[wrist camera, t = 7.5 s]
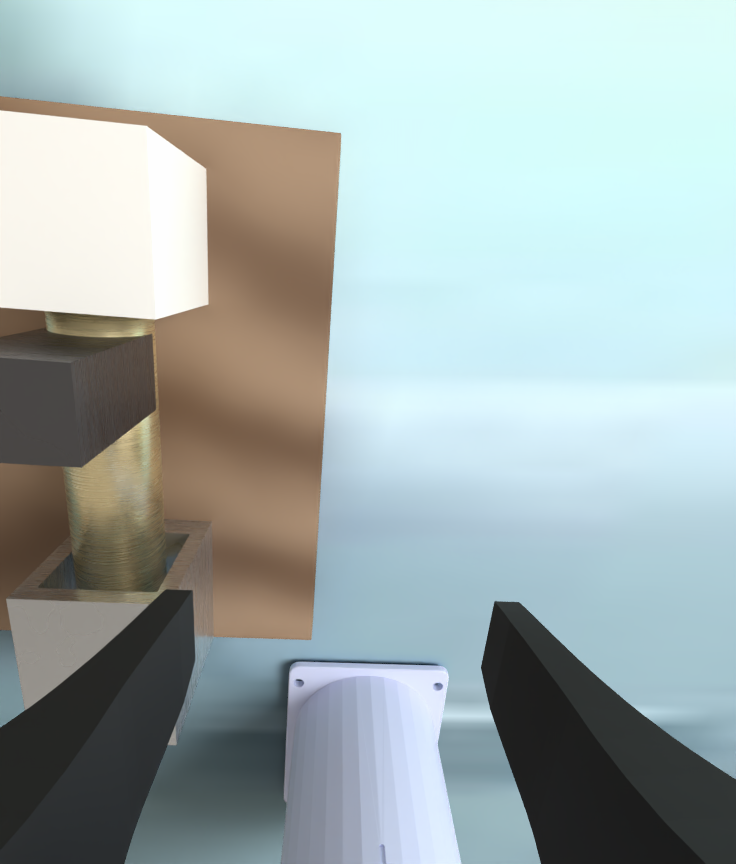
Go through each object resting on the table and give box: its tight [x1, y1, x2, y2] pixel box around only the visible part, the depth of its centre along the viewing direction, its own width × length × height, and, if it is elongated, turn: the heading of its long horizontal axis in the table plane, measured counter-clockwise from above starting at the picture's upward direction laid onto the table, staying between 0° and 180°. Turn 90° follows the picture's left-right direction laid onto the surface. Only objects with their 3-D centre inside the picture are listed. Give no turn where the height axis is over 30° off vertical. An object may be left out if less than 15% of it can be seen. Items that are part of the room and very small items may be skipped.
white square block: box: [0, 110, 208, 320], centre depth 15 cm, size 4×5×6 cm
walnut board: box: [0, 96, 341, 640], centre depth 20 cm, size 21×14×1 cm, turn 175°
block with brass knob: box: [0, 311, 167, 592], centre depth 15 cm, size 14×3×7 cm, turn 175°
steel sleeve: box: [6, 519, 214, 745], centre depth 19 cm, size 6×5×6 cm
